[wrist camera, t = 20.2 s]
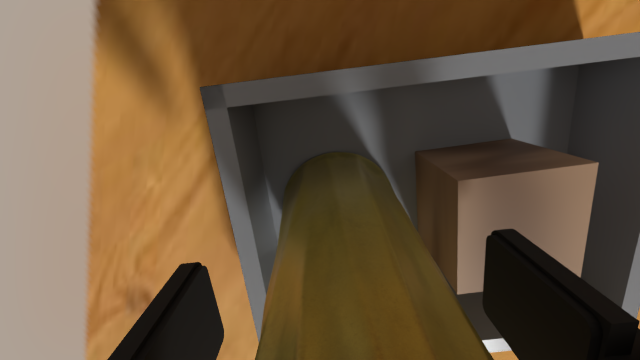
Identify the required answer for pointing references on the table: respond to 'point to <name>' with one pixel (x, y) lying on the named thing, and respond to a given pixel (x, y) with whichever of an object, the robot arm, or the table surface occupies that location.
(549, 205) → the walnut cube
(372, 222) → the vase
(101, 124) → the table surface
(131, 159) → the table surface
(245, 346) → the table surface
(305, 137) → the tote
